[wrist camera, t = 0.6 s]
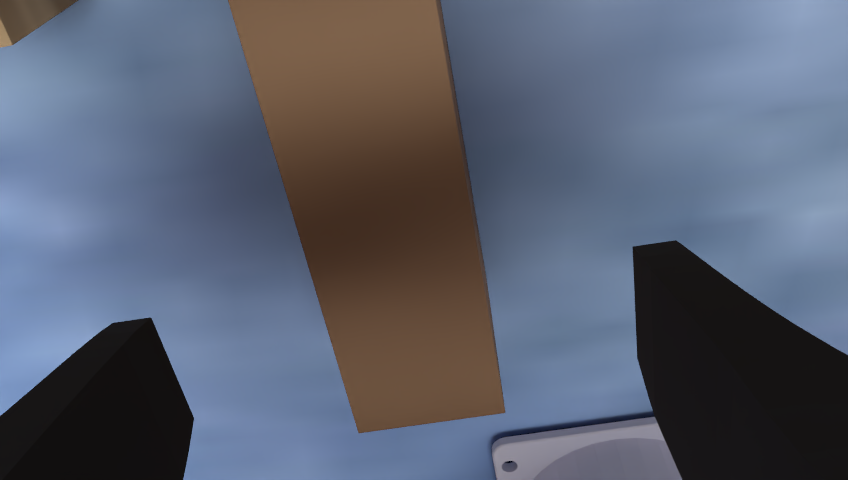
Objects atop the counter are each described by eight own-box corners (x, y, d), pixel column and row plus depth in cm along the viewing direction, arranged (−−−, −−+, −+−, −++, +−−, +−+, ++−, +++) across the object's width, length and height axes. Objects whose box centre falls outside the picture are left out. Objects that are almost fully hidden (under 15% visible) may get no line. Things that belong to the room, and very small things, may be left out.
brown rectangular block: (487, 281, 23) (505, 412, 18) (370, 299, 23) (358, 433, 19) (403, -225, 17) (398, -224, 12) (242, -192, 17) (175, -177, 12)
